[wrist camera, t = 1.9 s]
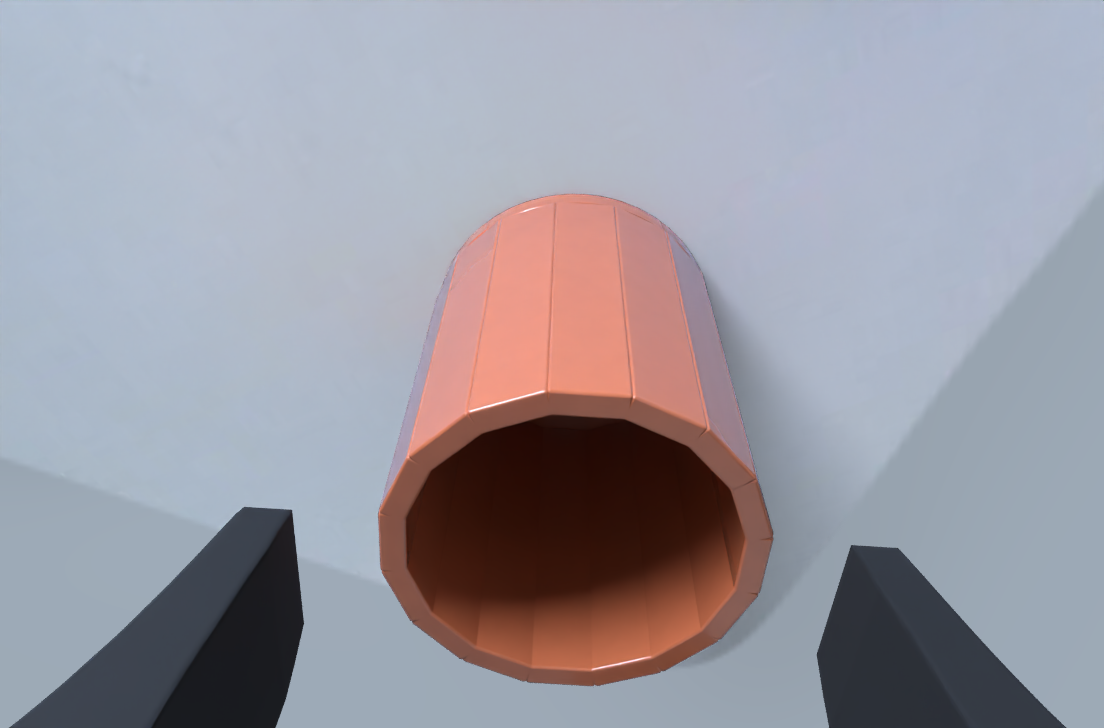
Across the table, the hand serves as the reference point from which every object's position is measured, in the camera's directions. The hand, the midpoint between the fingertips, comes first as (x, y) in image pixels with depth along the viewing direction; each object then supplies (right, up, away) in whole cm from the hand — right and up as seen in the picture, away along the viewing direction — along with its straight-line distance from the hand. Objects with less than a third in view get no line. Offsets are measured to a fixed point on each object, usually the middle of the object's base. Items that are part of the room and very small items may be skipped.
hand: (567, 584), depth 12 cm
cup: (0, +4, +7) cm, 8 cm away
